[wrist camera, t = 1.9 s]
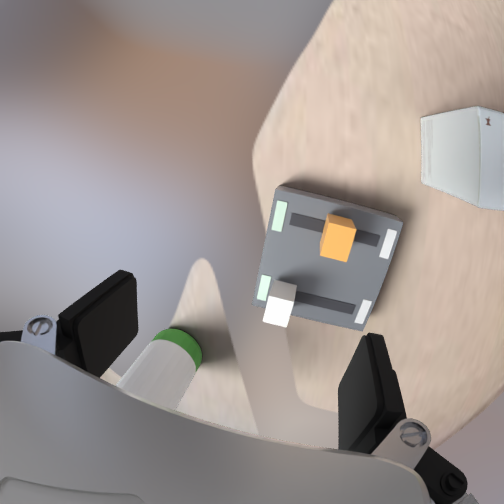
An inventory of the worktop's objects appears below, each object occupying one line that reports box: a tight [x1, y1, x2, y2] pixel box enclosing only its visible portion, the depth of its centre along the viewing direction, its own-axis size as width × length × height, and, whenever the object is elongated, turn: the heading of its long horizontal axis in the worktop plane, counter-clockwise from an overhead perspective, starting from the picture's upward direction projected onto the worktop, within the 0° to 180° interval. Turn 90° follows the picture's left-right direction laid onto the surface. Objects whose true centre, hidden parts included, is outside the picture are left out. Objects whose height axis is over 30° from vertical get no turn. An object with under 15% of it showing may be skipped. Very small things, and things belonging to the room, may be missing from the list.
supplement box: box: [421, 106, 504, 211], centre depth 19 cm, size 7×7×13 cm
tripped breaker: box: [320, 213, 356, 262], centre depth 25 cm, size 3×2×4 cm
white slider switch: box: [263, 280, 297, 328], centre depth 29 cm, size 3×2×4 cm
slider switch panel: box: [252, 185, 403, 331], centre depth 30 cm, size 13×13×3 cm
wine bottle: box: [116, 329, 202, 410], centre depth 27 cm, size 8×8×30 cm
